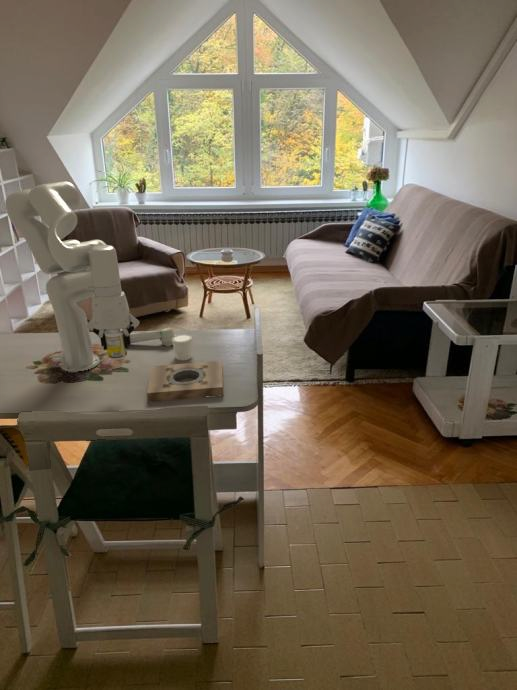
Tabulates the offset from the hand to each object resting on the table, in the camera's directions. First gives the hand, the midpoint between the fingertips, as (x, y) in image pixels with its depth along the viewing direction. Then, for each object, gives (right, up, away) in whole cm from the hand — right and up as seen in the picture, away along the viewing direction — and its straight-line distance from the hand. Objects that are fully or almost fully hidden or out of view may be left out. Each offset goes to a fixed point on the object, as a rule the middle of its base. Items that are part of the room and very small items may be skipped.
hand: (116, 346), depth 163 cm
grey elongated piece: (0, 0, +37) cm, 37 cm away
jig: (+20, -12, +6) cm, 24 cm away
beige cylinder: (+17, -4, +25) cm, 30 cm away
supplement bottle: (0, -3, +1) cm, 3 cm away
